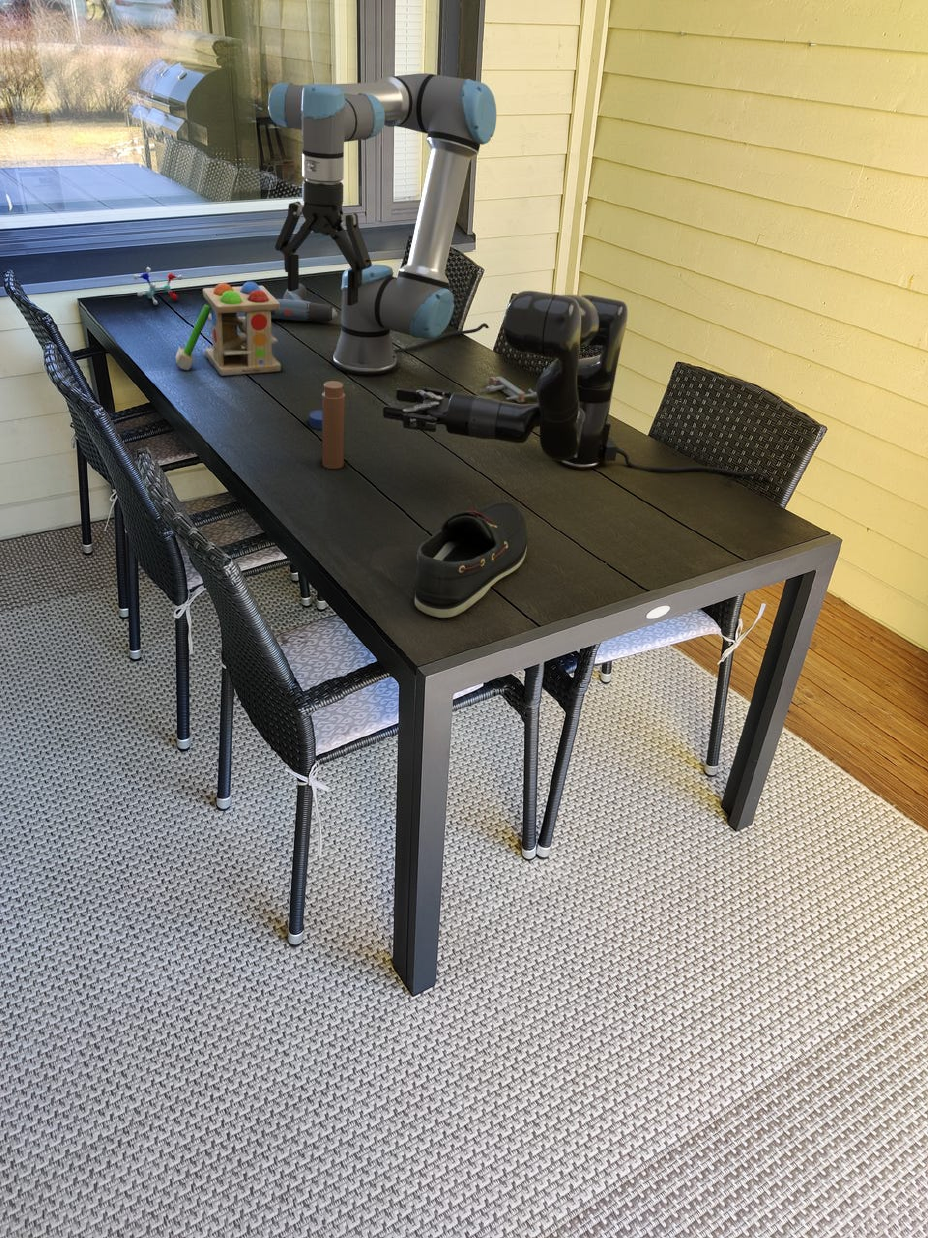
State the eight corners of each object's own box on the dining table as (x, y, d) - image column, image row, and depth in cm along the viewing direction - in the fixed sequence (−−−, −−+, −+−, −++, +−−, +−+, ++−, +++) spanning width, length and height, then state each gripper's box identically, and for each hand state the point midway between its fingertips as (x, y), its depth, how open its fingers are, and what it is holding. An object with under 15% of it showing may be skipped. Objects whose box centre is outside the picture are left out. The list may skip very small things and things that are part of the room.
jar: (334, 457, 194) (335, 378, 185) (348, 465, 192) (350, 385, 183) (317, 463, 192) (317, 383, 182) (331, 471, 189) (332, 390, 180)
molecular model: (165, 296, 257) (152, 258, 255) (138, 309, 260) (124, 272, 259) (191, 298, 267) (178, 262, 266) (164, 311, 271) (151, 276, 270)
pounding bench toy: (183, 379, 220) (176, 299, 210) (169, 357, 231) (162, 280, 221) (282, 371, 230) (280, 294, 220) (264, 350, 240) (262, 276, 230)
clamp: (478, 378, 231) (514, 373, 235) (477, 387, 232) (513, 382, 236) (512, 401, 220) (549, 396, 225) (511, 411, 221) (548, 405, 226)
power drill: (344, 304, 276) (335, 327, 259) (277, 298, 275) (264, 321, 258) (344, 285, 273) (335, 306, 256) (277, 279, 272) (264, 300, 255)
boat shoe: (553, 546, 173) (559, 493, 167) (451, 625, 149) (454, 565, 143) (491, 526, 178) (495, 473, 173) (382, 598, 154) (383, 540, 149)
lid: (315, 430, 204) (315, 421, 203) (305, 421, 207) (305, 412, 206) (337, 427, 206) (337, 417, 205) (327, 418, 210) (327, 408, 209)
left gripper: (254, 171, 181) (258, 288, 193) (371, 194, 173) (368, 314, 185) (278, 166, 187) (280, 280, 199) (392, 188, 179) (387, 305, 191)
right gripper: (484, 383, 184) (401, 369, 186) (468, 412, 172) (379, 397, 175) (481, 420, 188) (400, 406, 190) (464, 451, 177) (378, 436, 179)
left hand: (322, 296), depth 192 cm, fingers open, 13 cm apart
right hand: (390, 402), depth 182 cm, fingers open, 8 cm apart
